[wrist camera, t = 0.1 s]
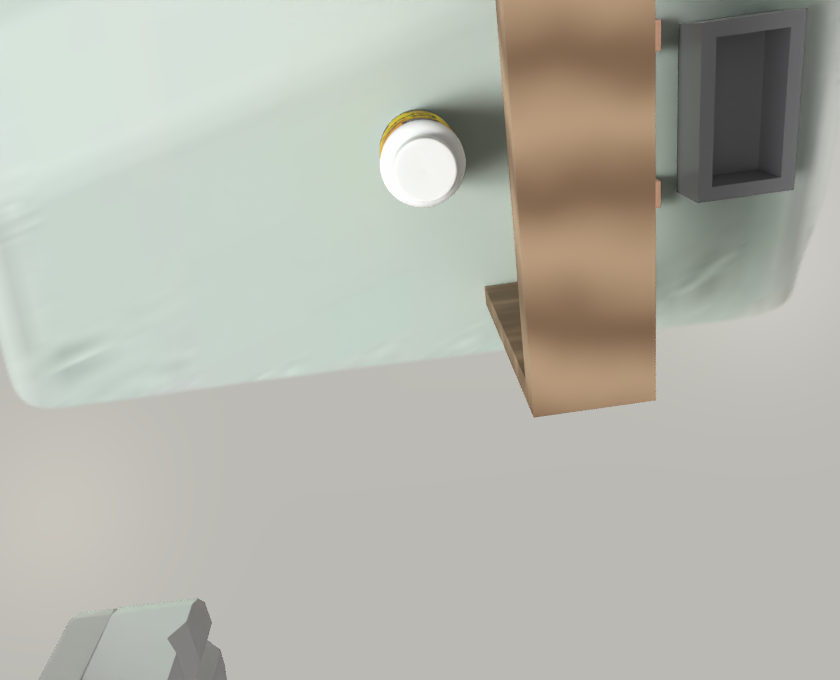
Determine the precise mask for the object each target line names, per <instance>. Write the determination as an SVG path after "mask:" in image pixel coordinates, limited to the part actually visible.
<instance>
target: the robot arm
mask: <svg viewBox="0 0 840 680" xmlns="http://www.w3.org/2000/svg"><path fill="white" fill-rule="evenodd" d="M211 624H212V622H211V619H210V616H209V613H208V611H207V607H206V605H205V602H203V601H202V600H200V599H189V600H180V601H172V602H163V603H154V604H147V605H137V606H129V607H120V608H119V609H108V610H100V611H91V612H83V613H79V614H78V615H77V616H75V617H74V618H72V619H71V620H70V621H69V623H68V625H67V627H66V629H65V630H64V632H63V634H62V636H61V638H60V640H59V642H58V644H57V646H56V647H55V649H54V651H53V653H52V655H51V657H50V659H49V661H48V663H47V665H46V667H45V668H44V670H43V672H42V674H41V676H40V678H39V680H227V678H226V671H225V664H224V661H223V657H222V654H221V651H220V649H219V648H217V647H216V646H214V645H213V644H211V643H210V642H209V641H208V640H207V639H208V635H209V631H210V627H211Z"/></svg>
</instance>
